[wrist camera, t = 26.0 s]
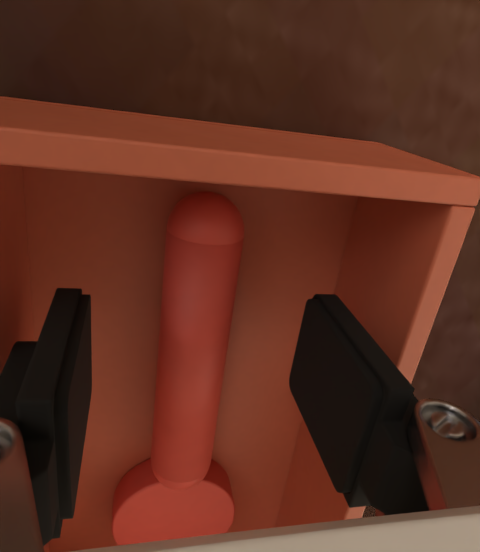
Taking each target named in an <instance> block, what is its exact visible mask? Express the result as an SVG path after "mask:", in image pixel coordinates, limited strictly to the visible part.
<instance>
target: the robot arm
mask: <svg viewBox="0 0 480 552" xmlns="http://www.w3.org/2000/svg"><path fill="white" fill-rule="evenodd" d="M289 387H290V391H291V393H292V395H293V397H294V400H295V402H296V404H297V406H298V408H299V411H300V413H301V415H302V417H303V419H304V422H305V424H306V426H307V428H308V431H309V433H310V435H311V437H312V439H313V442H314V444H315V446H316V448H317V450H318V453H319V455H320V457H321V459H322V461H323V464H324V466H325V468H326V470H327V472H328V475H329V477H330V479H331V481H332V484H333V486H334V488H335V490H336V491H337V492H338V493H343V495H344V497H345V500H346V502H347V504H348V506H349V508H353V507H363V506H370V505H371V506H373V507H374V508H376V516H375V517H366V518H357V519H347V520H338V521H329V522H320V523H311V524H302V525H293V526H284V527H275V528H266V529H257V530H248V531H239V532H230V533H221V534H213V535H204V536H196V537H187V538H178V539H170V540H161V541H153V542H144V543H136V544H127V545H118V546H110V547H101V548H93V549H84V550H76V551H69V552H480V423H479V422H478V420H477V419H476V418H475V417H473V416H472V415H471V414H470V413H469V412H467V411H466V410H464V409H463V408H461V407H459V406H457V405H455V404H453V403H450V402H447V401H444V400H440V399H431V398H429V399H423V400H421V401H418V400H417V399H416V397H415V396H414V395H413V392H414V387H413V386H412V385H411V384H410V383H409V381H408V380H407V379H406V378H405V377H404V375H403V374H402V373H401V372H400V371H399V369H398V368H397V367H396V366H395V365H394V363H393V362H392V361H391V360H390V358H389V357H388V356H387V355H386V354H385V352H384V351H383V350H382V349H381V348H380V346H379V345H378V344H377V343H376V342H375V340H374V339H373V338H372V337H371V336H370V334H369V333H368V332H367V331H366V330H365V328H364V327H363V326H362V325H361V324H360V322H359V321H358V320H357V319H356V318H355V316H354V315H353V314H352V313H351V312H350V310H349V309H348V308H347V307H346V306H345V304H344V303H343V302H342V301H341V300H340V298H339V297H338V296H337V295H336V294H315V295H314V296H313V298H312V299H308V300H307V302H306V305H305V309H304V314H303V318H302V323H301V327H300V332H299V336H298V341H297V345H296V350H295V354H294V359H293V363H292V367H291V372H290V377H289ZM91 393H92V345H91V295H90V294H82V289H81V288H57V289H56V292H55V294H54V297H53V300H52V303H51V305H50V308H49V311H48V314H47V316H46V319H45V322H44V325H43V327H42V330H41V333H40V336H39V338H38V341H17V342H15V344H14V346H13V347H12V350H11V352H10V354H9V357H8V359H7V361H6V363H5V366H4V368H3V370H2V372H1V375H0V552H44V547H43V546H44V545H46V544H47V543H48V542H49V541H50V540H51V539H55V538H60V535H61V529H62V523H63V519H73V516H74V511H75V504H76V497H77V490H78V484H79V477H80V470H81V463H82V456H83V449H84V442H85V436H86V429H87V422H88V415H89V408H90V401H91Z"/></svg>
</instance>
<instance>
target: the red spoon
mask: <svg viewBox="0 0 480 552" xmlns="http://www.w3.org/2000/svg"><path fill="white" fill-rule="evenodd" d="M243 240H244V223H243V219H242V217H241V214H240V212H239V210H238V209H237V207H236V206H235V205H234V204H233V203H232V202H231V201H230V200H229V199H228V198H226V197H224V196H223V195H221V194H218V193H214V192H209V191H202V192H196V193H193V194H190V195H188V196H186V197H184V198H183V199H181V200H180V201H179V202H178V203H177V204H176V205H175V206H174V208H173V209H172V211H171V213H170V215H169V218H168V223H167V229H166V243H165V258H164V272H163V287H162V302H161V316H160V331H159V345H158V360H157V375H156V389H155V404H154V418H153V433H152V448H151V459H148V460H146V461H144V462H142V463H140V464H138V465H137V466H135V467H134V468H132V469H131V470H130V471H129V472H128V473H127V474H126V475H125V476H124V477H123V478H122V479H121V481H120V482H119V484H118V486H117V488H116V490H115V493H114V497H113V509H112V524H111V529H112V535H113V538H114V540H115V542H116V543H117V545H127V544H136V543H144V542H153V541H161V540H170V539H178V538H187V537H196V536H204V535H213V534H221V533H227V532H228V530H229V529H230V527H231V525H232V523H233V520H234V516H235V504H234V499H233V495H232V490H231V485H230V480H229V477H228V475H227V473H226V471H225V470H224V469H223V468H222V466H220V465H219V464H218V463H217V462H216V461H214V460H212V459H211V458H212V451H213V444H214V438H215V431H216V424H217V417H218V410H219V403H220V397H221V390H222V383H223V376H224V369H225V363H226V356H227V349H228V342H229V335H230V328H231V322H232V315H233V308H234V301H235V294H236V288H237V281H238V274H239V267H240V260H241V253H242V247H243Z"/></svg>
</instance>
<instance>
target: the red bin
mask: <svg viewBox="0 0 480 552" xmlns="http://www.w3.org/2000/svg"><path fill="white" fill-rule="evenodd" d="M202 191H209V192H214V193H218V194H221V195H223V196H224V197H226V198H228V199H229V200H230V201H231V202H232V203H233V204H234V205H235V206H236V207H237V209H238V210H239V212H240V214H241V217H242V219H243V223H244V240H243V247H242V253H241V260H240V267H239V274H238V281H237V288H236V294H235V301H234V308H233V315H232V322H231V328H230V335H229V342H228V349H227V356H226V363H225V369H224V376H223V383H222V390H221V397H220V403H219V410H218V417H217V424H216V431H215V438H214V444H213V451H212V458H211V459H212V460H214V461H216V462H217V463H218V464H219V465H220V466H222V468H223V469H224V470H225V471H226V473H227V475H228V477H229V480H230V485H231V490H232V495H233V499H234V504H235V516H234V520H233V523H232V525H231V527H230V529H229V530H228V532H227V533H230V532H239V531H248V530H257V529H266V528H275V527H284V526H293V525H302V524H311V523H320V522H329V521H338V520H347V519H357V518H362V515H363V513H364V510H365V507H366V506H363V507H353V508H349V506H348V504H347V502H346V500H345V497H344V495H343V493H338V492H337V491H336V490H335V488H334V486H333V484H332V481H331V479H330V477H329V475H328V472H327V470H326V468H325V466H324V464H323V461H322V459H321V457H320V455H319V453H318V450H317V448H316V446H315V444H314V442H313V439H312V437H311V435H310V433H309V431H308V428H307V426H306V424H305V422H304V419H303V417H302V415H301V413H300V411H299V408H298V406H297V404H296V402H295V400H294V397H293V395H292V393H291V391H290V387H289V377H290V372H291V367H292V363H293V359H294V354H295V350H296V345H297V341H298V336H299V332H300V327H301V323H302V318H303V314H304V309H305V305H306V302H307V300H308V299H312V298H313V296H314V295H315V294H336V295H337V296H338V297H339V298H340V300H341V301H342V302H343V303H344V304H345V306H346V307H347V308H348V309H349V310H350V312H351V313H352V314H353V315H354V316H355V318H356V319H357V320H358V321H359V322H360V324H361V325H362V326H363V327H364V328H365V330H366V331H367V332H368V333H369V334H370V336H371V337H372V338H373V339H374V340H375V342H376V343H377V344H378V345H379V346H380V348H381V349H382V350H383V351H384V352H385V354H386V355H387V356H388V357H389V358H390V360H391V361H392V362H393V363H394V365H395V366H396V367H397V368H398V369H399V371H400V372H401V373H402V374H403V375H404V377H405V378H406V379H407V380H408V381H409V383H410V384H411V383H412V380H413V377H414V374H415V372H416V369H417V366H418V364H419V361H420V358H421V355H422V353H423V350H424V347H425V345H426V342H427V339H428V336H429V334H430V331H431V328H432V326H433V323H434V320H435V317H436V315H437V312H438V309H439V307H440V304H441V301H442V298H443V296H444V293H445V290H446V288H447V285H448V282H449V279H450V277H451V274H452V271H453V269H454V266H455V263H456V260H457V258H458V255H459V252H460V250H461V247H462V244H463V242H464V239H465V236H466V233H467V231H468V228H469V225H470V223H471V220H472V217H473V214H474V212H475V208H474V207H473V206H476V205H477V204H478V201H479V199H480V177H479V176H476V175H473V174H470V173H467V172H464V171H461V170H458V169H455V168H453V167H450V166H447V165H444V164H441V163H438V162H435V161H432V160H429V159H426V158H423V157H420V156H417V155H414V154H411V153H408V152H405V151H403V150H400V149H397V148H394V147H391V146H387V145H385V144H382V143H379V142H371V141H363V140H355V139H347V138H339V137H330V136H322V135H314V134H306V133H298V132H289V131H281V130H273V129H265V128H257V127H249V126H240V125H232V124H224V123H216V122H208V121H200V120H191V119H183V118H175V117H167V116H159V115H150V114H142V113H134V112H126V111H118V110H110V109H101V108H93V107H85V106H77V105H69V104H60V103H52V102H44V101H36V100H28V99H20V98H11V97H3V96H0V375H1V372H2V370H3V368H4V366H5V363H6V361H7V359H8V357H9V354H10V352H11V350H12V347H13V346H14V344H15V342H17V341H38V338H39V336H40V333H41V330H42V327H43V325H44V322H45V319H46V316H47V314H48V311H49V308H50V305H51V303H52V300H53V297H54V294H55V292H56V289H57V288H81V289H82V294H90V295H91V345H92V393H91V401H90V408H89V415H88V422H87V429H86V436H85V442H84V449H83V456H82V463H81V470H80V477H79V484H78V490H77V497H76V504H75V511H74V516H73V519H63V523H62V529H61V535H60V538H55V539H51V540H50V541H49V542H48V543H47V544H46V545H44V546H43V547H44V552H69V551H76V550H84V549H93V548H101V547H110V546H118V545H117V543H116V542H115V540H114V538H113V535H112V529H111V524H112V509H113V497H114V493H115V490H116V488H117V486H118V484H119V482H120V481H121V479H122V478H123V477H124V476H125V475H126V474H127V473H128V472H129V471H130V470H131V469H132V468H134V467H135V466H137V465H138V464H140V463H142V462H144V461H146V460H148V459H151V448H152V433H153V418H154V404H155V389H156V375H157V360H158V345H159V331H160V316H161V302H162V287H163V272H164V258H165V243H166V229H167V223H168V218H169V215H170V213H171V211H172V209H173V208H174V206H175V205H176V204H177V203H178V202H179V201H180V200H181V199H183V198H184V197H186V196H188V195H190V194H193V193H196V192H202Z"/></svg>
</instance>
